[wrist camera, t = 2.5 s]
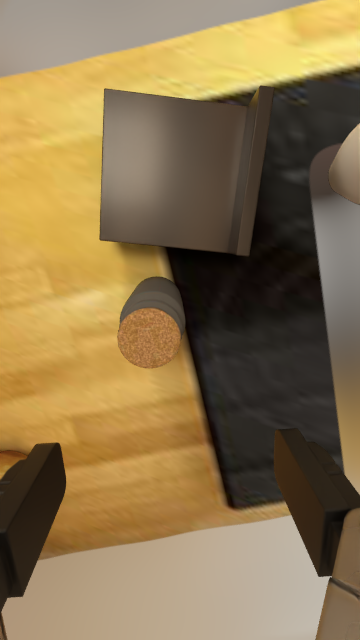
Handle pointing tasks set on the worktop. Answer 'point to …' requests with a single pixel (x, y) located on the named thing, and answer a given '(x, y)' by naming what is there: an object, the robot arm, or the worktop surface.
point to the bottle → (152, 323)
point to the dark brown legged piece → (182, 170)
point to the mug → (347, 168)
